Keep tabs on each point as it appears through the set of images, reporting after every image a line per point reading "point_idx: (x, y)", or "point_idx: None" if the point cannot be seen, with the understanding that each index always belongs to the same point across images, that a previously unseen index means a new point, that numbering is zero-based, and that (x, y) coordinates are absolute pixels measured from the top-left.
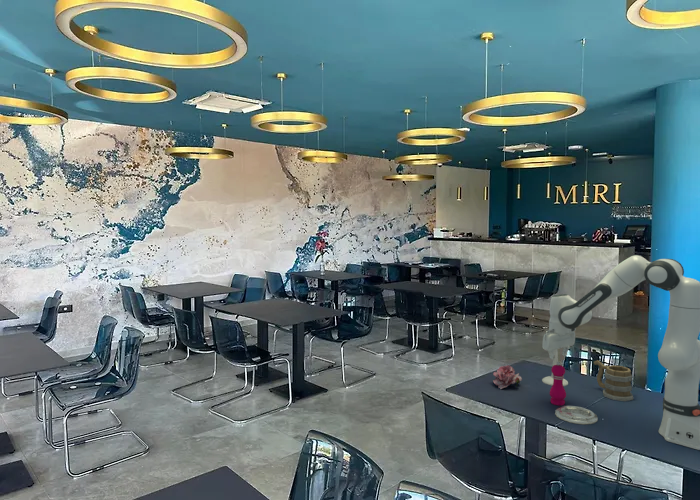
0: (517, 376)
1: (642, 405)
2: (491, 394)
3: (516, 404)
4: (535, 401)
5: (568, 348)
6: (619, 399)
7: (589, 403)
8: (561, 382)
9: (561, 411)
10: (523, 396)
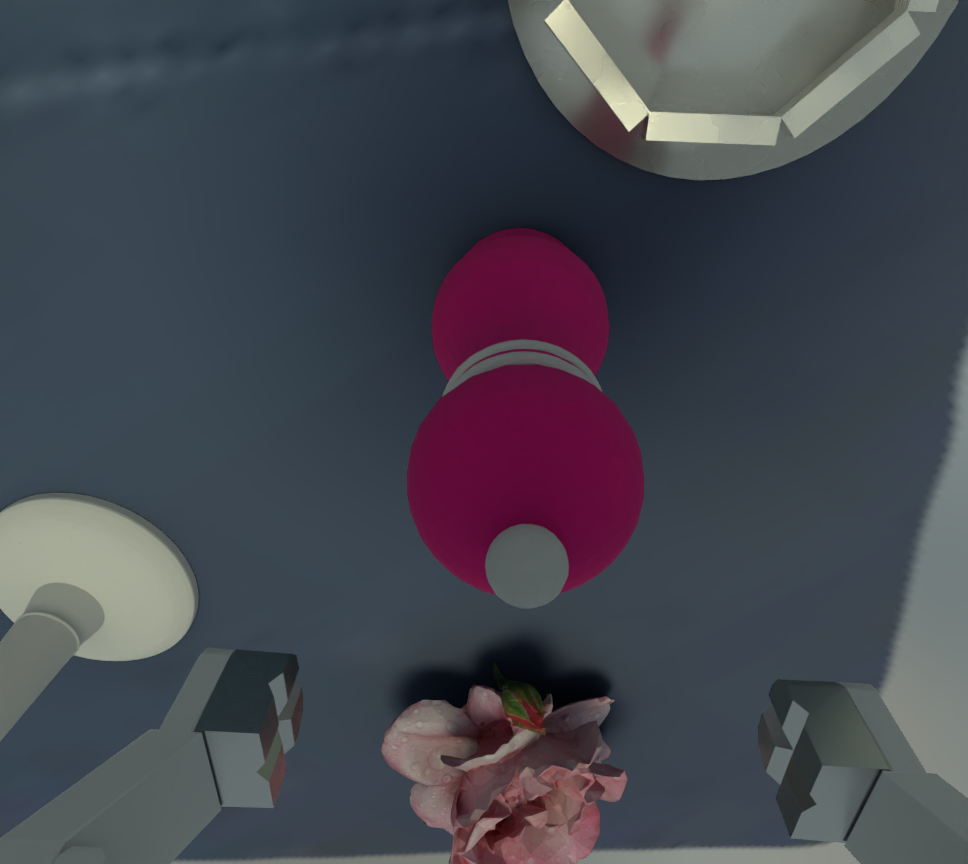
0: (408, 749)
1: None
2: (761, 683)
3: (835, 484)
4: (643, 434)
5: (29, 839)
6: None
7: (232, 81)
8: (534, 336)
9: (863, 54)
10: None
